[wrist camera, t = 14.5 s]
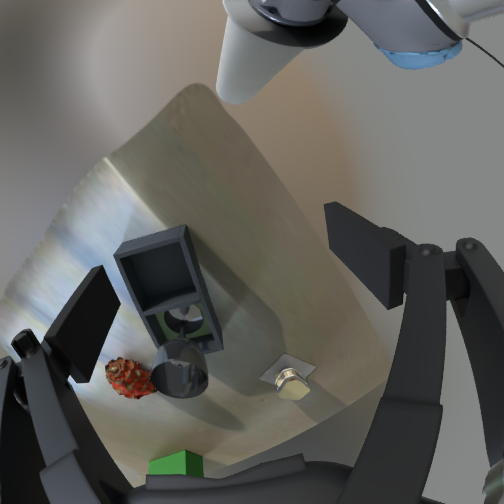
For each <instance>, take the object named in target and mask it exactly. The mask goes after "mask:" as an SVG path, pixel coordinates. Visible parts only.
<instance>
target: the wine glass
mask: <svg viewBox="0 0 504 504" xmlns="http://www.w3.org/2000/svg"><path fill="white" fill-rule="evenodd" d="M164 321H165V323H166V325H167V326H168V327H169V328H170V329H171V330H172V331H174V332H176V333H179V336H178V337H177V338H172V339H169V340H167V341H166V342H164V343H163V344H162V345H161V346H160V348H159V349H158V351H157V353H156V355H155V358H154V360H153V364H152V369H151V382H152V384H153V385H154V387H155V388H156V389H157V390H158V391H160V392H161V393H163V394H165V395H167V396H170V397H174V398H192V397H195V396H198V395H200V394H201V393H203V392H204V391H205V390H206V388H207V386H208V368H207V363H206V359H205V356H204V354H203V352H202V350H201V348H200V347H199V346H198V345H197V344H196V343H195V342H193V341H192V340H190V339H187V338H186V334H191V333H194V332H196V331H198V330H199V329H200V328H201V326H202V325H203V322H204V317H203V313H202V311H201V310H200V309H199V308H198V307H197V306H196V305H190V306H186V307H182V308H177V309H173V310H169V311H165V313H164Z"/></svg>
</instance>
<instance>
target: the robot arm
mask: <svg viewBox="0 0 504 504" xmlns="http://www.w3.org/2000/svg"><path fill="white" fill-rule="evenodd" d="M248 2H249V4H250V6H251V7H252V8H253V9H254V10H255V11H256V12H257V13H258V14H259V15H260V16H262V17H263V18H265V19H266V20H268V21H270V22H272V23H274V24H277V25H280V26H284V27H289V28H307V27H312V26H315V25H317V24H319V23H320V22H322V21H323V20H324V19H325V18H326V17H328V16H329V14H330V13H331V11H332V9H333V6H334V4H335V5H336V6H337V7H338V8H339V9H340V10H341V11H342V12H344V13H345V14H346V15H347V16H348V17H349V18H350V19H351V20H352V21H353V22H354V23H355V24H356V25H357V26H358V27H359V28H360V29H361V30H362V31H363V32H364V33H365V34H366V35H367V36H368V37H369V38H370V39H371V40H372V41H373V42H374V45H375V47H376V48H378V49H379V50H380V51H382V52H383V53H384V54H385V55H386V57H387V58H388V59H389V60H390V61H391V62H392V63H393V64H395V65H396V66H399V67H401V68H404V69H423V68H428V67H432V66H435V65H439V64H441V63H443V62H445V60H447V59H452V58H453V57H455V56H456V55H457V54H459V53H460V51H461V49H462V39H466V40H468V41H470V42H471V43H473V44H474V45H475V46H477V47H478V48H480V49H481V50H483V51H484V52H485V53H487V54H488V55H489V56H490V57H492V58H493V59H494V60H495V61H497V62H498V63H499V64H500V65H501V66H502V67H504V65H503V64H502V63H500V62H499V61H498V60H497V59H496V58H495V57H493V56H492V55H491V54H490V53H488V52H487V51H486V50H484V49H483V48H482V47H480V46H479V45H478V44H476V43H475V42H473V41H472V40H470V39H469V38H467V37H468V35H469V30H470V25H471V24H472V23H474V22H477V21H480V20H483V19H487V18H490V17H494V16H497V15H501V14H504V0H248ZM324 210H325V217H326V224H327V232H328V240H329V248H330V250H332V252H333V253H334V254H335V255H336V256H337V257H338V258H339V259H340V260H341V261H342V262H343V263H345V265H346V266H347V267H348V268H349V269H350V270H351V271H352V272H353V273H354V274H355V275H356V276H357V277H358V278H359V279H360V281H361V282H362V283H363V284H364V285H365V286H366V287H367V288H368V289H369V290H370V291H371V292H372V293H373V294H374V295H375V297H376V298H377V299H378V300H379V301H380V302H381V303H382V304H383V305H384V306H385V308H386V309H387V310H389V309H392V308H395V307H397V306H399V305H402V304H403V294H404V292H405V293H406V294H407V296H406V302H405V308H404V314H403V319H402V324H401V329H400V334H399V339H398V343H397V347H396V351H395V355H394V359H393V363H392V367H391V370H390V374H389V378H388V381H387V384H386V388H385V391H384V394H383V397H381V399H380V402H379V405H378V407H377V410H376V413H375V416H374V419H373V421H372V424H371V427H370V430H369V432H368V435H367V437H366V439H365V442H364V444H363V447H362V449H361V452H360V454H359V457H358V458H357V461H356V463H355V465H354V467H350V466H347V465H343V464H339V463H334V462H326V461H309V462H305V461H304V457H303V454H302V453H301V454H297V455H294V456H290V457H286V458H282V459H278V460H274V461H269V462H265V463H261V464H259V465H256V466H254V467H251V468H249V469H246V470H244V471H241V472H239V473H237V474H234V475H231V476H228V477H226V478H222V479H213V478H205V477H198V476H191V475H185V474H146V484H144V485H141V486H139V487H136V488H133V487H132V485H131V484H130V483H129V482H128V480H127V479H126V478H125V476H124V475H123V473H122V472H121V471H120V469H119V468H118V466H117V465H116V464H115V462H114V461H113V459H112V458H111V456H110V454H109V453H108V451H107V450H106V448H105V447H104V445H103V443H102V442H101V440H100V438H99V437H98V435H97V433H96V432H95V430H94V428H93V426H92V425H91V423H90V421H89V419H88V417H87V415H86V414H85V412H84V410H83V408H82V406H81V404H80V402H79V400H78V398H77V396H76V394H75V391H74V389H73V387H72V385H71V384H70V383H69V382H68V377H69V375H71V377H72V378H73V379H74V380H75V382H76V383H89V381H90V379H91V376H92V373H93V370H94V368H95V365H96V362H97V360H98V357H99V355H100V352H101V349H102V347H103V344H104V342H105V340H106V337H107V335H108V332H109V330H110V328H111V325H112V323H113V321H114V318H115V316H116V314H117V311H118V309H119V307H120V305H121V303H120V301H119V299H118V297H117V295H116V293H115V291H114V289H113V287H112V284H111V282H110V280H109V278H108V276H107V274H106V271H105V269H104V267H103V265H100V266H97V267H94V268H92V269H91V270H90V272H89V273H88V274H87V276H86V277H85V278H84V280H83V281H82V282H81V284H80V285H79V286H78V288H77V289H76V290H75V292H74V293H73V295H72V296H71V297H70V299H69V300H68V302H67V303H66V304H65V306H64V307H63V309H62V310H61V312H60V313H59V315H58V316H57V318H56V319H55V321H54V322H53V324H52V325H51V327H50V328H49V330H48V331H47V333H46V334H45V336H44V339H43V341H42V342H41V344H40V343H39V341H38V340H37V338H36V337H35V335H34V333H33V332H32V330H31V329H25V330H23V331H21V332H20V333H19V334H17V335H16V336H15V337H14V339H13V340H12V342H11V345H12V347H13V348H14V350H15V351H16V352H17V354H18V355H19V357H20V358H21V362H18V363H15V362H14V360H13V359H12V358H11V356H7V357H4V358H2V359H0V504H444V503H441V502H438V501H435V500H432V499H428V498H426V497H423V496H422V493H423V490H424V487H425V484H426V481H427V477H428V474H429V471H430V468H431V464H432V460H433V456H434V452H435V448H436V444H437V440H438V435H439V430H440V425H441V420H442V412H443V407H442V406H443V405H440V395H441V388H442V380H443V371H444V360H445V346H446V301H448V300H450V302H451V304H452V307H453V310H454V312H455V315H456V318H457V321H458V324H459V327H460V330H461V333H462V336H463V339H464V343H465V346H466V349H467V353H468V356H469V360H470V363H471V367H472V371H473V375H474V380H475V384H476V388H477V393H478V398H479V403H480V409H481V415H482V421H483V428H484V436H485V443H486V450H487V455H488V459H489V463H490V467H491V469H490V470H489V472H488V475H487V476H486V479H485V485H484V487H483V492H482V493H483V495H484V497H485V501H484V504H504V272H503V270H502V269H501V267H500V266H499V265H498V263H497V262H496V261H495V259H494V258H493V257H492V255H491V254H490V253H489V251H488V250H487V249H486V248H485V246H484V245H483V244H482V243H481V242H479V241H478V240H476V239H474V238H463V239H460V240H458V241H457V243H456V251H451V252H443V250H442V249H441V248H440V247H439V246H436V245H434V244H420V245H417V244H415V243H414V242H412V241H410V240H409V239H407V238H405V237H404V236H402V235H401V234H399V233H398V232H396V231H394V230H392V229H389V228H386V227H381V228H380V227H378V226H377V225H375V224H373V223H371V222H370V221H368V220H367V219H365V218H363V217H362V216H360V215H358V214H357V213H355V212H353V211H352V210H350V209H348V208H347V207H345V206H343V205H341V204H340V203H338V202H331V203H327V204H324ZM16 399H17V400H18V401H19V402H20V403H19V402H18V401H17V400H16Z"/></svg>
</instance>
